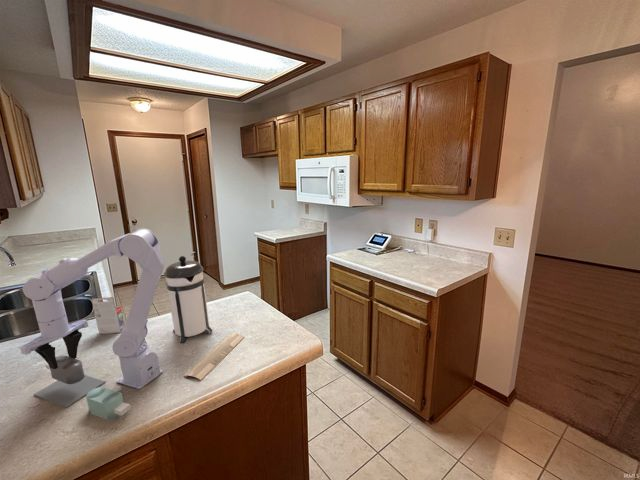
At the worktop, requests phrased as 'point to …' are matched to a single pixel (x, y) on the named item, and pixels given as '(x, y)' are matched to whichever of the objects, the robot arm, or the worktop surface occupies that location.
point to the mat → (68, 391)
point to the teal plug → (106, 403)
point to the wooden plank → (214, 356)
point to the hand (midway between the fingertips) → (63, 362)
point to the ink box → (108, 316)
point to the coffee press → (187, 298)
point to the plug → (67, 370)
